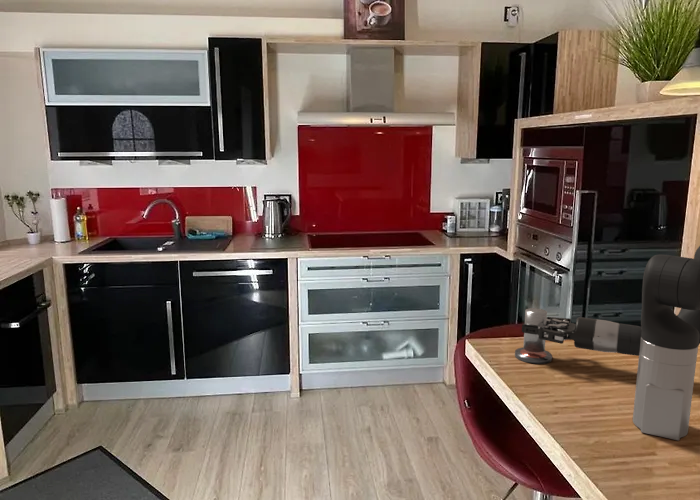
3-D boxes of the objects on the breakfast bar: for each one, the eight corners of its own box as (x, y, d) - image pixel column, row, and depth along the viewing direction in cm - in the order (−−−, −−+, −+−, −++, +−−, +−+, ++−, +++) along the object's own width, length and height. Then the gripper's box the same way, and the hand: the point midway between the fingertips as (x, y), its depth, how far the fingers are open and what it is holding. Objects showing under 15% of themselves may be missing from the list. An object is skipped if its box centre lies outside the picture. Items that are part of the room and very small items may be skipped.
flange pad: (548, 366, 129) (548, 362, 129) (511, 359, 134) (511, 355, 134) (554, 354, 137) (554, 350, 137) (518, 348, 141) (519, 344, 141)
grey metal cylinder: (542, 353, 132) (545, 315, 130) (521, 350, 134) (523, 312, 132) (546, 347, 136) (548, 309, 134) (525, 343, 139) (527, 307, 137)
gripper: (600, 312, 132) (530, 303, 141) (595, 328, 120) (519, 318, 128) (598, 340, 134) (529, 330, 142) (592, 359, 122) (517, 347, 130)
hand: (524, 324), depth 135 cm, fingers closed on grey metal cylinder, 5 cm apart
